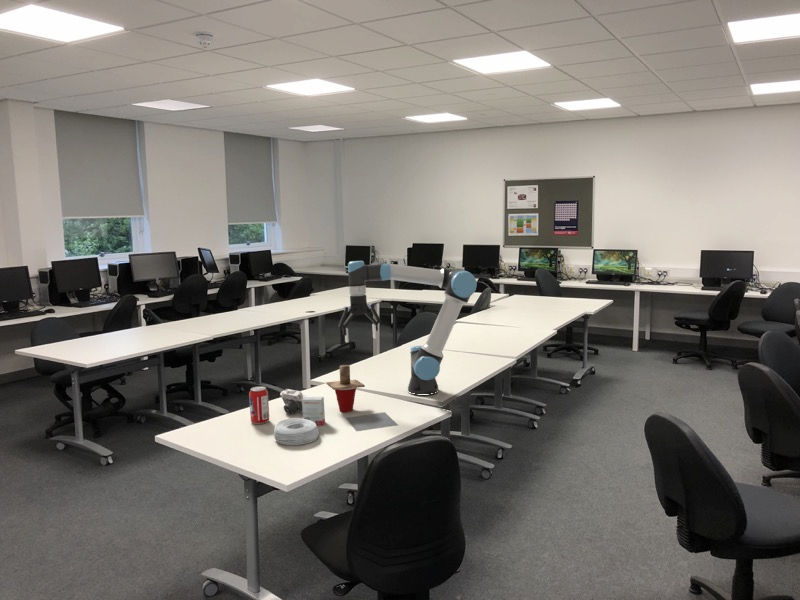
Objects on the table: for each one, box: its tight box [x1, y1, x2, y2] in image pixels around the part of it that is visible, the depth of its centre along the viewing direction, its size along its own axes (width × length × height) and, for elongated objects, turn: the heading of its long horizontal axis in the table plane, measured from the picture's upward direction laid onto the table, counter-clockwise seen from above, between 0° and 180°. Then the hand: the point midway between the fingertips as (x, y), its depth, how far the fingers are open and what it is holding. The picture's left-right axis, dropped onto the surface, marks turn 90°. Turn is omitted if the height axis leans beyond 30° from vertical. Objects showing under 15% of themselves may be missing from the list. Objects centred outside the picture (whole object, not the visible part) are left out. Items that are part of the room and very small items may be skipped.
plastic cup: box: [334, 388, 357, 413], centre depth 269 cm, size 11×11×12 cm
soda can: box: [248, 385, 270, 425], centre depth 258 cm, size 8×8×15 cm
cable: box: [273, 417, 320, 447], centre depth 238 cm, size 18×18×6 cm
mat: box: [345, 411, 399, 432], centre depth 254 cm, size 18×18×1 cm
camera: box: [279, 388, 307, 415], centre depth 270 cm, size 9×16×10 cm, turn 51°
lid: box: [326, 364, 365, 391], centre depth 268 cm, size 14×14×9 cm
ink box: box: [302, 396, 326, 427], centre depth 253 cm, size 9×5×12 cm, turn 84°
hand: (361, 340), depth 278 cm, fingers open, 13 cm apart
